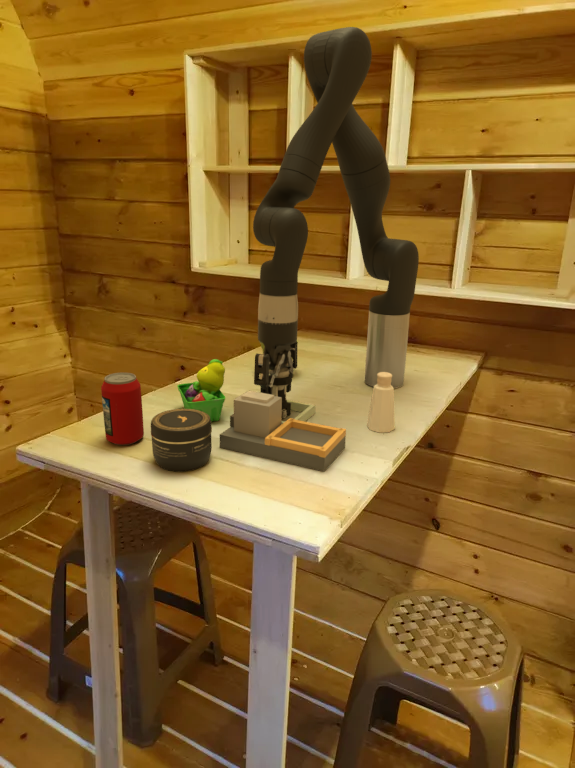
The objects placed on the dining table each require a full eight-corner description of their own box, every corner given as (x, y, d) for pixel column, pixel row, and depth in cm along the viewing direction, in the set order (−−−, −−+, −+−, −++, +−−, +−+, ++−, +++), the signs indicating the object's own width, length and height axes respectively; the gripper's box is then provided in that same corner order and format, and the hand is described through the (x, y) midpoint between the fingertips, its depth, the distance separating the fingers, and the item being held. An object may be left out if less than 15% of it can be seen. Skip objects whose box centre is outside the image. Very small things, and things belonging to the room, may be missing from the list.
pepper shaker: (393, 434, 111) (397, 379, 107) (364, 431, 112) (368, 376, 109) (396, 423, 116) (400, 370, 112) (368, 420, 117) (372, 368, 114)
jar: (185, 442, 106) (184, 403, 104) (224, 459, 100) (224, 417, 98) (140, 461, 99) (137, 419, 96) (179, 480, 93) (177, 436, 90)
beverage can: (112, 431, 110) (107, 370, 106) (148, 432, 110) (144, 371, 106) (100, 447, 104) (94, 383, 100) (138, 448, 104) (133, 384, 100)
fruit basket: (177, 407, 122) (174, 355, 119) (218, 402, 125) (217, 351, 122) (188, 427, 112) (186, 371, 109) (233, 421, 115) (232, 367, 112)
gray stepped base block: (246, 427, 113) (245, 382, 110) (345, 448, 105) (347, 400, 102) (218, 447, 104) (217, 399, 101) (324, 471, 96) (326, 420, 93)
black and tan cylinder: (277, 426, 114) (278, 377, 110) (256, 419, 117) (256, 371, 113) (297, 416, 119) (298, 369, 115) (276, 409, 122) (276, 363, 118)
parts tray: (264, 403, 125) (264, 395, 124) (314, 413, 120) (315, 404, 120) (237, 422, 115) (237, 414, 114) (291, 433, 110) (291, 424, 110)
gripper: (279, 326, 103) (277, 412, 108) (310, 312, 115) (307, 390, 121) (242, 321, 106) (241, 405, 111) (276, 308, 118) (275, 384, 124)
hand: (276, 397), depth 116 cm, fingers open, 8 cm apart
